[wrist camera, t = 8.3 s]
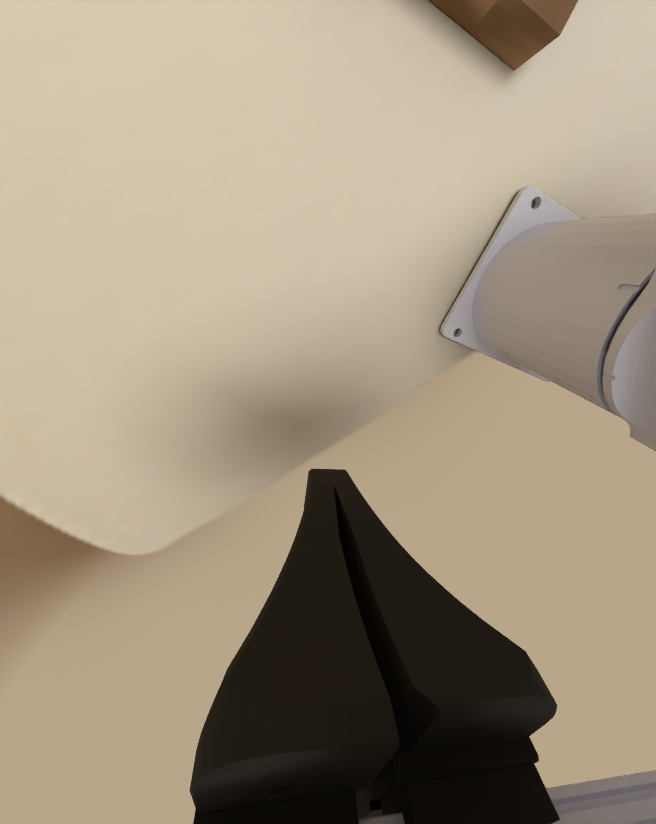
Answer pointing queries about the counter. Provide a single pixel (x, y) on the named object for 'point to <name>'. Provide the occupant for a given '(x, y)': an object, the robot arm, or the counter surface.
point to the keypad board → (510, 24)
